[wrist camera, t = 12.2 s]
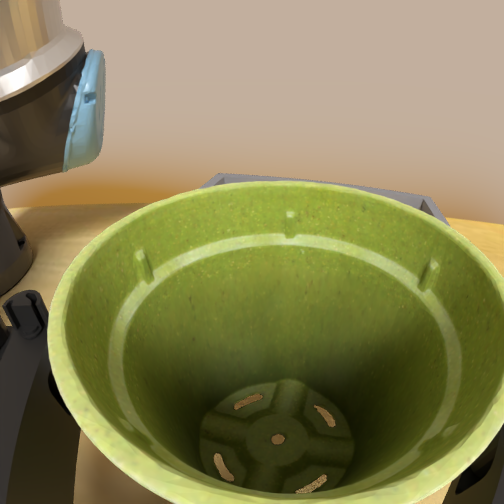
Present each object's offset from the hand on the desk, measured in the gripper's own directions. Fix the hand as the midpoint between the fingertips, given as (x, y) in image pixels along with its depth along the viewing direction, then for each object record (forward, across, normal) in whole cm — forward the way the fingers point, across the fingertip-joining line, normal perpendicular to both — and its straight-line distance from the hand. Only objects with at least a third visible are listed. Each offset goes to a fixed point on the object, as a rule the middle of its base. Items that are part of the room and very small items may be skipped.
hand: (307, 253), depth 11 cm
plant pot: (-5, 0, -6) cm, 8 cm away
